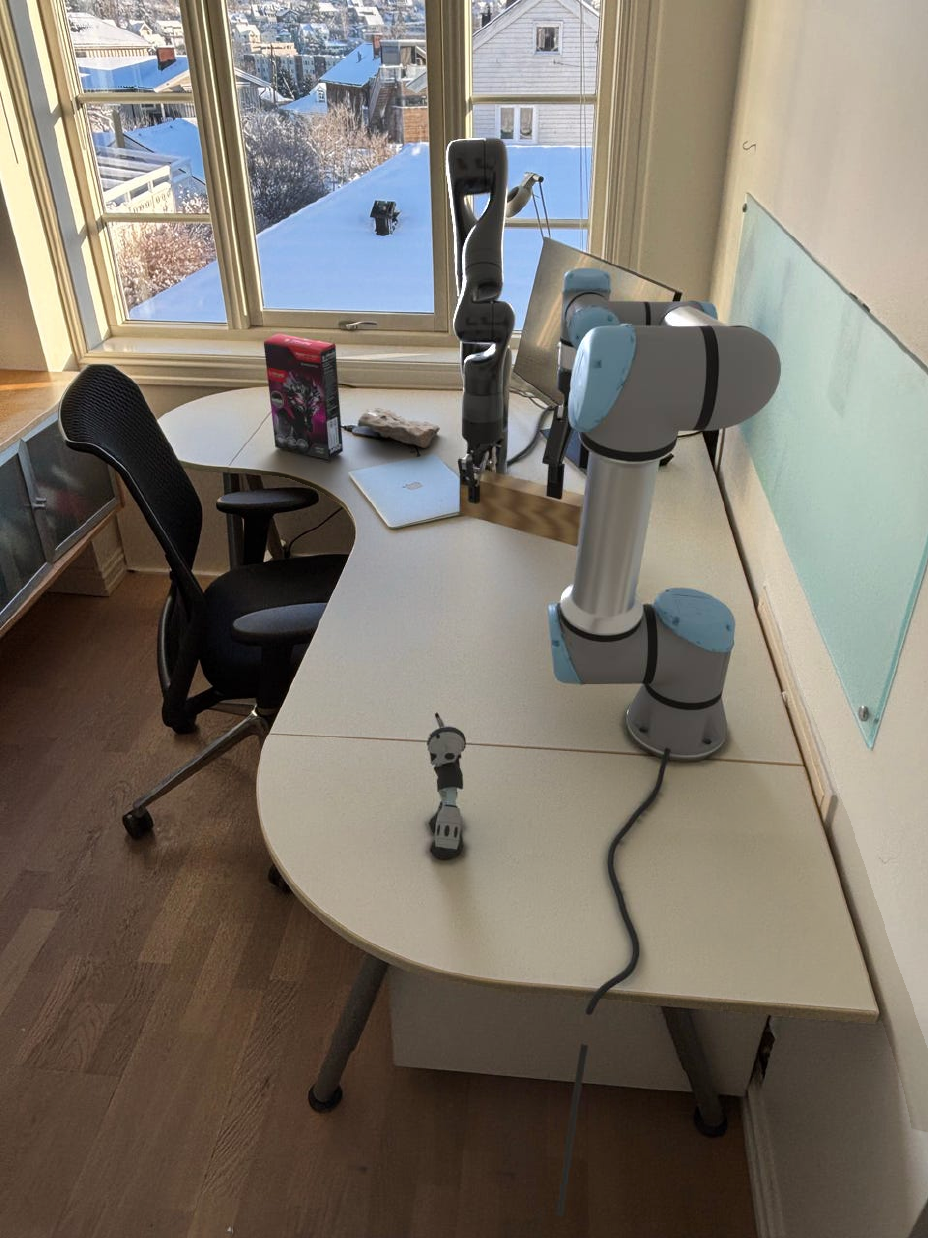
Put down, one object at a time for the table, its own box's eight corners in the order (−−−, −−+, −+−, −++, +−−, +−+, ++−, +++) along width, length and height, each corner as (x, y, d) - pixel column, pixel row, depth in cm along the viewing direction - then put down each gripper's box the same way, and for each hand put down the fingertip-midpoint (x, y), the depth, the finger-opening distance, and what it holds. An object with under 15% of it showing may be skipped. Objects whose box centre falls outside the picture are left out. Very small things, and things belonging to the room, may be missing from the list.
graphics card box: (273, 448, 231) (260, 339, 216) (289, 438, 236) (278, 332, 221) (329, 461, 225) (320, 351, 210) (345, 451, 230) (337, 342, 215)
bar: (587, 535, 173) (590, 496, 168) (576, 546, 169) (580, 506, 165) (471, 504, 183) (471, 466, 178) (459, 513, 180) (459, 475, 175)
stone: (342, 431, 232) (346, 408, 230) (364, 423, 246) (368, 401, 243) (419, 455, 229) (424, 432, 226) (437, 445, 242) (442, 423, 240)
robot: (468, 894, 116) (470, 778, 105) (429, 895, 116) (427, 779, 105) (461, 784, 133) (462, 674, 121) (427, 785, 132) (425, 675, 121)
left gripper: (483, 396, 175) (481, 478, 185) (444, 421, 165) (444, 506, 174) (518, 404, 172) (515, 487, 182) (481, 430, 162) (479, 516, 171)
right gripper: (590, 342, 164) (580, 453, 176) (525, 385, 147) (520, 504, 159) (629, 350, 161) (617, 461, 173) (568, 394, 143) (559, 515, 155)
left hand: (480, 496), depth 178 cm, fingers closed on bar, 4 cm apart
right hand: (570, 482), depth 166 cm, fingers open, 13 cm apart
